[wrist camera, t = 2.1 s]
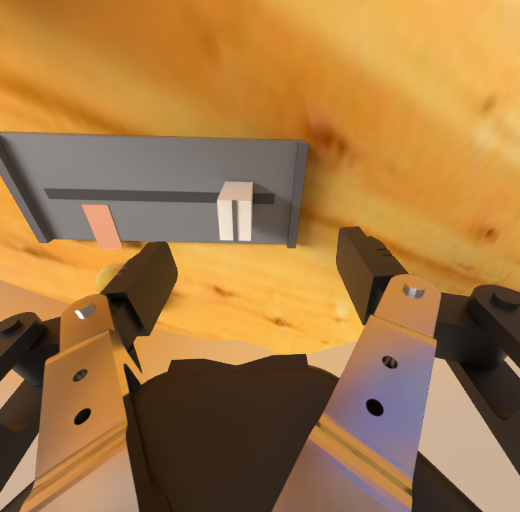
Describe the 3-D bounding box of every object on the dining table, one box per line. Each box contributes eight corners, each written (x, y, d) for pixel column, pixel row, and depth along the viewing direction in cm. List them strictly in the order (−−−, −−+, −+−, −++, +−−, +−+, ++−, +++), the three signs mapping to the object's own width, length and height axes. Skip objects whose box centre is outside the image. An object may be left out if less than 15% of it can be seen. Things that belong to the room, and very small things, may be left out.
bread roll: (117, 251, 33) (101, 267, 30) (170, 285, 37) (161, 303, 33) (92, 282, 36) (75, 300, 33) (143, 311, 40) (132, 329, 36)
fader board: (61, 239, 32) (44, 251, 29) (5, 131, 25) (-24, 134, 22) (291, 244, 32) (294, 256, 30) (303, 140, 25) (308, 143, 23)
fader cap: (227, 215, 27) (219, 241, 22) (225, 180, 25) (216, 200, 20) (252, 216, 27) (250, 241, 22) (252, 181, 25) (251, 201, 20)
